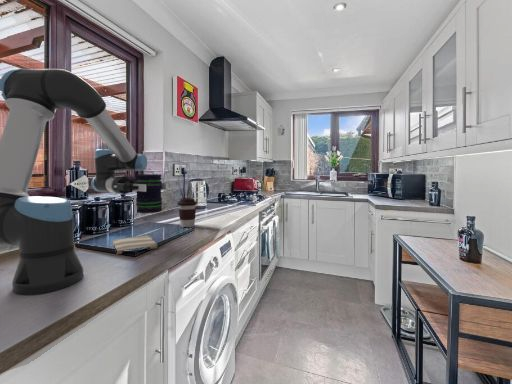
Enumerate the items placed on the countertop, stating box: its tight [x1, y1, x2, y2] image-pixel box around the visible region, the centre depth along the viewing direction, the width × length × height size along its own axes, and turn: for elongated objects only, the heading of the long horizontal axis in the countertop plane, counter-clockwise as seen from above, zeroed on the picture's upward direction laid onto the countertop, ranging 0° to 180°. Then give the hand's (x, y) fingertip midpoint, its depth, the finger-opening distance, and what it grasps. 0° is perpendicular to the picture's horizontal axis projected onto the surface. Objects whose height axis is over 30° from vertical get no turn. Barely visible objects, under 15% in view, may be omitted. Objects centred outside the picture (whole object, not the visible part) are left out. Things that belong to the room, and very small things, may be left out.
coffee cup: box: [177, 197, 198, 228], centre depth 138 cm, size 10×10×15 cm
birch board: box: [112, 235, 158, 255], centre depth 104 cm, size 16×14×2 cm
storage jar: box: [134, 173, 163, 214], centre depth 104 cm, size 10×10×15 cm
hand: (156, 187), depth 102 cm, fingers closed on storage jar, 10 cm apart
